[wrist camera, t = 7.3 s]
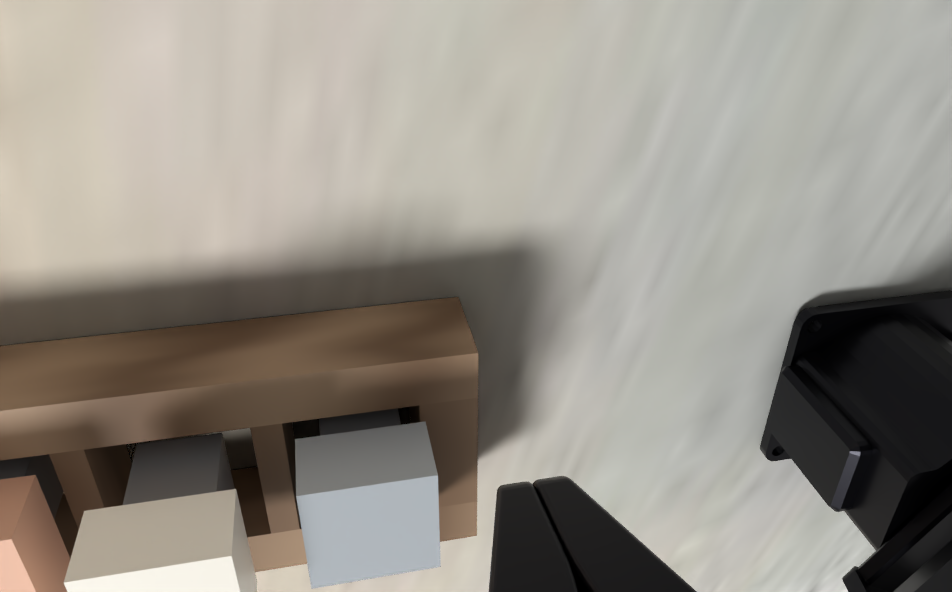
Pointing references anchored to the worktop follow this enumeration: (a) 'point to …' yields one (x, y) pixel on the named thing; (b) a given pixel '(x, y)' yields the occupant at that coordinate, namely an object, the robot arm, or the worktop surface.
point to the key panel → (245, 404)
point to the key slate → (367, 498)
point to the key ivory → (168, 526)
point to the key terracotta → (31, 527)
